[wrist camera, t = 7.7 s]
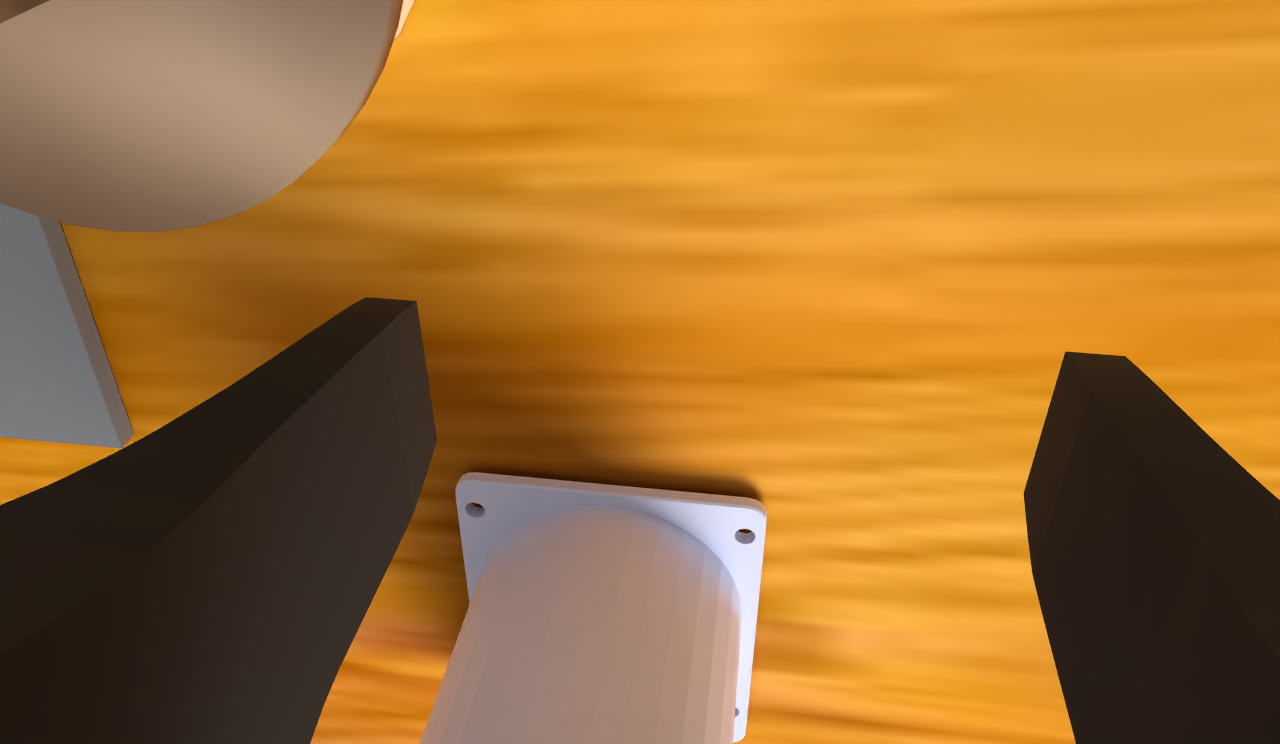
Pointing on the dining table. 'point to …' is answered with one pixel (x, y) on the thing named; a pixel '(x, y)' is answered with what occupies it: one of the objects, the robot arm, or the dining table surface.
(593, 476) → the dining table surface
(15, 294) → the coaster
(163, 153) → the lid
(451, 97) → the dining table surface
